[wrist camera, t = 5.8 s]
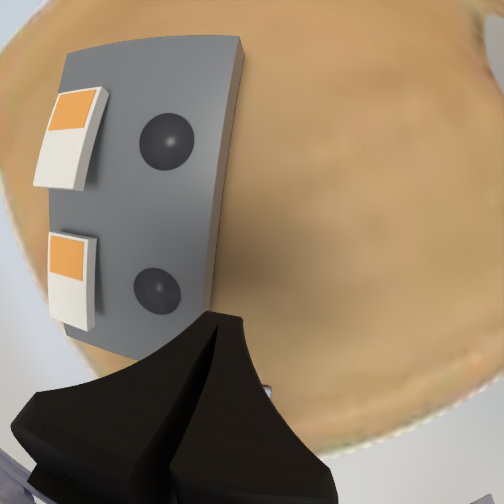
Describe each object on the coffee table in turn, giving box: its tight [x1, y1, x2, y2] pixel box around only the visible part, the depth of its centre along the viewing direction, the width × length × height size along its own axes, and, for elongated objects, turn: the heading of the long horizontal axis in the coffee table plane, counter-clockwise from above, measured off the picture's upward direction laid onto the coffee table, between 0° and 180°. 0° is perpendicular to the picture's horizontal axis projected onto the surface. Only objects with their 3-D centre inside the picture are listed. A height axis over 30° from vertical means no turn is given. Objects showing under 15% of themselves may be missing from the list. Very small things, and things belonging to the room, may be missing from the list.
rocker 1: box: [33, 87, 109, 191], centre depth 12 cm, size 6×4×1 cm, turn 171°
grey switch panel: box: [49, 35, 245, 361], centre depth 17 cm, size 22×12×3 cm, turn 172°
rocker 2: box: [48, 231, 97, 331], centre depth 15 cm, size 6×4×1 cm, turn 171°
